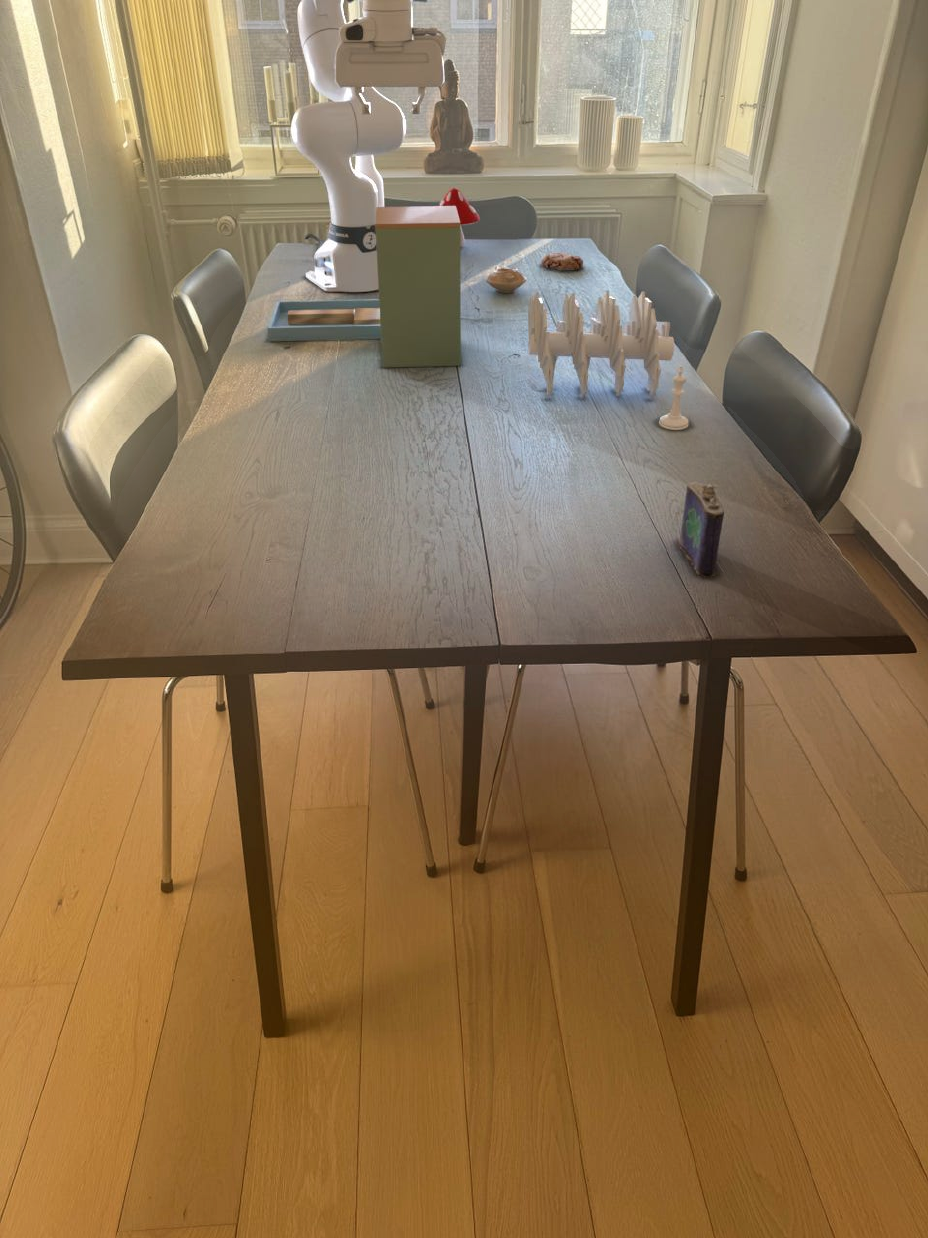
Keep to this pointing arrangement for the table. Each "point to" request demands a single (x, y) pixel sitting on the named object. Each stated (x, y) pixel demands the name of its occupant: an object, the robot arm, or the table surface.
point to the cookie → (562, 261)
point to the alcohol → (371, 174)
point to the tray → (310, 332)
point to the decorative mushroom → (460, 209)
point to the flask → (701, 527)
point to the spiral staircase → (600, 339)
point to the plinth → (419, 285)
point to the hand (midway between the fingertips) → (391, 113)
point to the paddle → (335, 316)
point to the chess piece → (675, 407)
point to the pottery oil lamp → (505, 279)
